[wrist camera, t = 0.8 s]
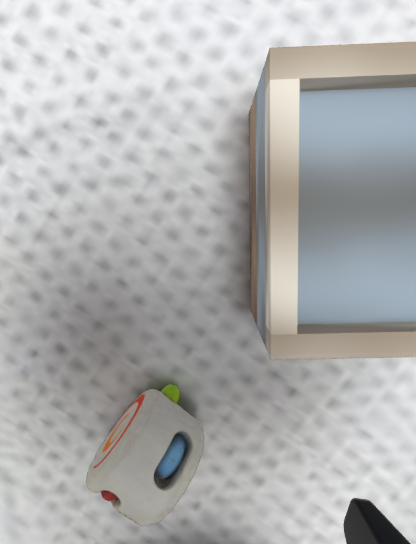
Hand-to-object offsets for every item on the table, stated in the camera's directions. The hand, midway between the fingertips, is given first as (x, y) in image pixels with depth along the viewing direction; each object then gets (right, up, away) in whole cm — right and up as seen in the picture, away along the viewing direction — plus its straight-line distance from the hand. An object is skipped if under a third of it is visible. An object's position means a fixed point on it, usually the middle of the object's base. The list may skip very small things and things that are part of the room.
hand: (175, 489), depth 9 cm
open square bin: (+8, +9, +11) cm, 16 cm away
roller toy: (-2, -4, +13) cm, 14 cm away
